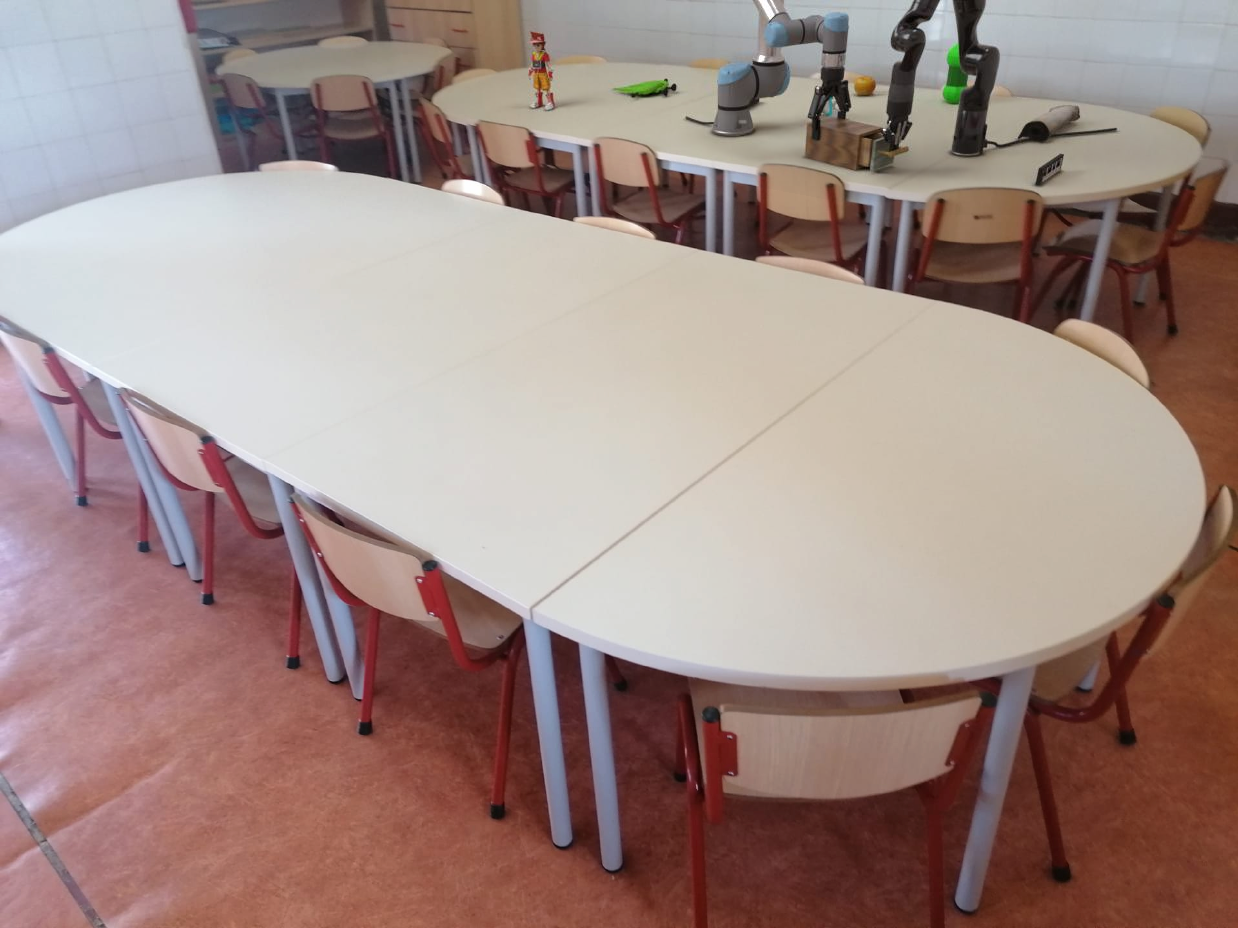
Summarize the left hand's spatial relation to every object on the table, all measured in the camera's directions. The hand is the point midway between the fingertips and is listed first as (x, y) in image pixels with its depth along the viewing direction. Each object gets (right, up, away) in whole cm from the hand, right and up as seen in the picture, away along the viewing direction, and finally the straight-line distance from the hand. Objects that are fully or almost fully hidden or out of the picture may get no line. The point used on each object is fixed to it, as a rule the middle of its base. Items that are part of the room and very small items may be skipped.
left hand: (827, 136), depth 301 cm
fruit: (+32, +43, +71) cm, 89 cm away
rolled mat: (+81, +6, +14) cm, 82 cm away
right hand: (+17, -13, -17) cm, 27 cm away
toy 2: (-61, +54, +96) cm, 126 cm away
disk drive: (-20, +36, +66) cm, 78 cm away
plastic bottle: (+62, +33, +53) cm, 88 cm away
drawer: (+11, -12, -8) cm, 17 cm away
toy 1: (-103, +42, +81) cm, 138 cm away
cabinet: (+4, -8, 0) cm, 9 cm away
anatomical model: (+11, +22, +43) cm, 50 cm away
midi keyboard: (+61, -23, -27) cm, 71 cm away
